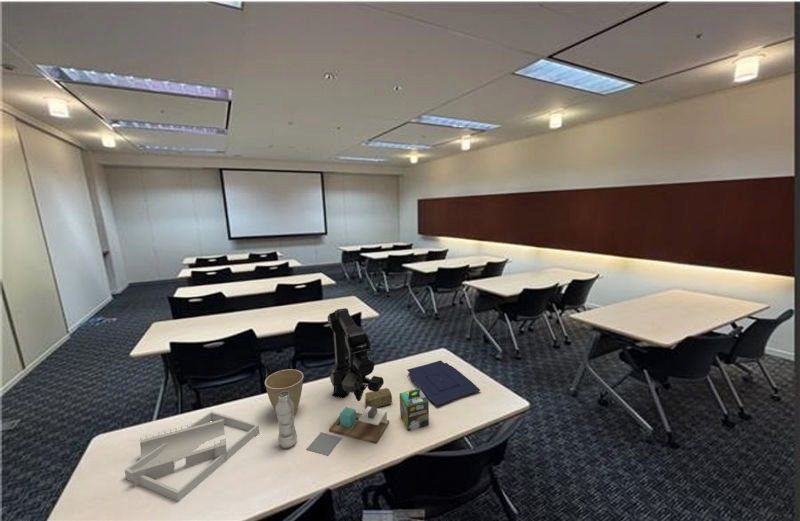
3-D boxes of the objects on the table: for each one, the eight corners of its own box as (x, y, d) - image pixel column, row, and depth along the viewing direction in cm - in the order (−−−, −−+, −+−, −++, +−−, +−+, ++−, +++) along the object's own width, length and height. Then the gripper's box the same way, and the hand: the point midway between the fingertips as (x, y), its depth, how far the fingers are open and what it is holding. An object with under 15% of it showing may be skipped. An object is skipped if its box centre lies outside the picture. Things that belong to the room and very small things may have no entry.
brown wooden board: (329, 432, 120) (328, 428, 120) (345, 413, 131) (345, 409, 131) (376, 445, 113) (376, 441, 113) (389, 423, 124) (389, 420, 124)
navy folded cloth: (443, 364, 169) (443, 357, 169) (480, 395, 143) (481, 388, 142) (403, 375, 159) (403, 368, 158) (435, 411, 132) (435, 403, 132)
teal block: (340, 427, 123) (339, 413, 122) (346, 420, 127) (345, 406, 126) (350, 430, 121) (349, 416, 120) (356, 422, 125) (355, 409, 124)
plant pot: (272, 430, 122) (268, 393, 119) (265, 410, 134) (261, 375, 132) (310, 416, 130) (307, 380, 127) (300, 398, 142) (297, 365, 140)
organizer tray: (126, 480, 101) (124, 469, 100) (212, 420, 129) (211, 411, 128) (179, 504, 92) (177, 493, 91) (259, 434, 120) (258, 424, 119)
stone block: (393, 403, 136) (392, 393, 134) (367, 411, 132) (365, 401, 131) (389, 395, 141) (388, 385, 140) (364, 402, 138) (363, 392, 137)
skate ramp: (224, 430, 122) (223, 407, 120) (227, 466, 107) (226, 441, 105) (142, 453, 109) (139, 428, 107) (131, 498, 94) (128, 470, 92)
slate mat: (306, 450, 112) (306, 449, 111) (321, 433, 120) (321, 432, 120) (328, 457, 108) (328, 455, 108) (341, 439, 117) (341, 437, 117)
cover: (358, 431, 118) (358, 414, 116) (368, 418, 125) (367, 401, 124) (378, 436, 115) (377, 418, 114) (386, 422, 122) (386, 405, 121)
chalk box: (420, 412, 131) (420, 380, 128) (429, 427, 122) (429, 392, 120) (399, 418, 128) (398, 384, 125) (407, 433, 119) (406, 397, 117)
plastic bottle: (280, 453, 110) (275, 401, 107) (277, 441, 116) (272, 391, 113) (299, 446, 113) (294, 396, 110) (295, 435, 119) (291, 386, 116)
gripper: (323, 369, 113) (326, 408, 116) (371, 378, 107) (372, 419, 110) (339, 355, 124) (341, 391, 126) (383, 362, 117) (384, 400, 120)
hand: (359, 400), depth 120 cm, fingers closed
